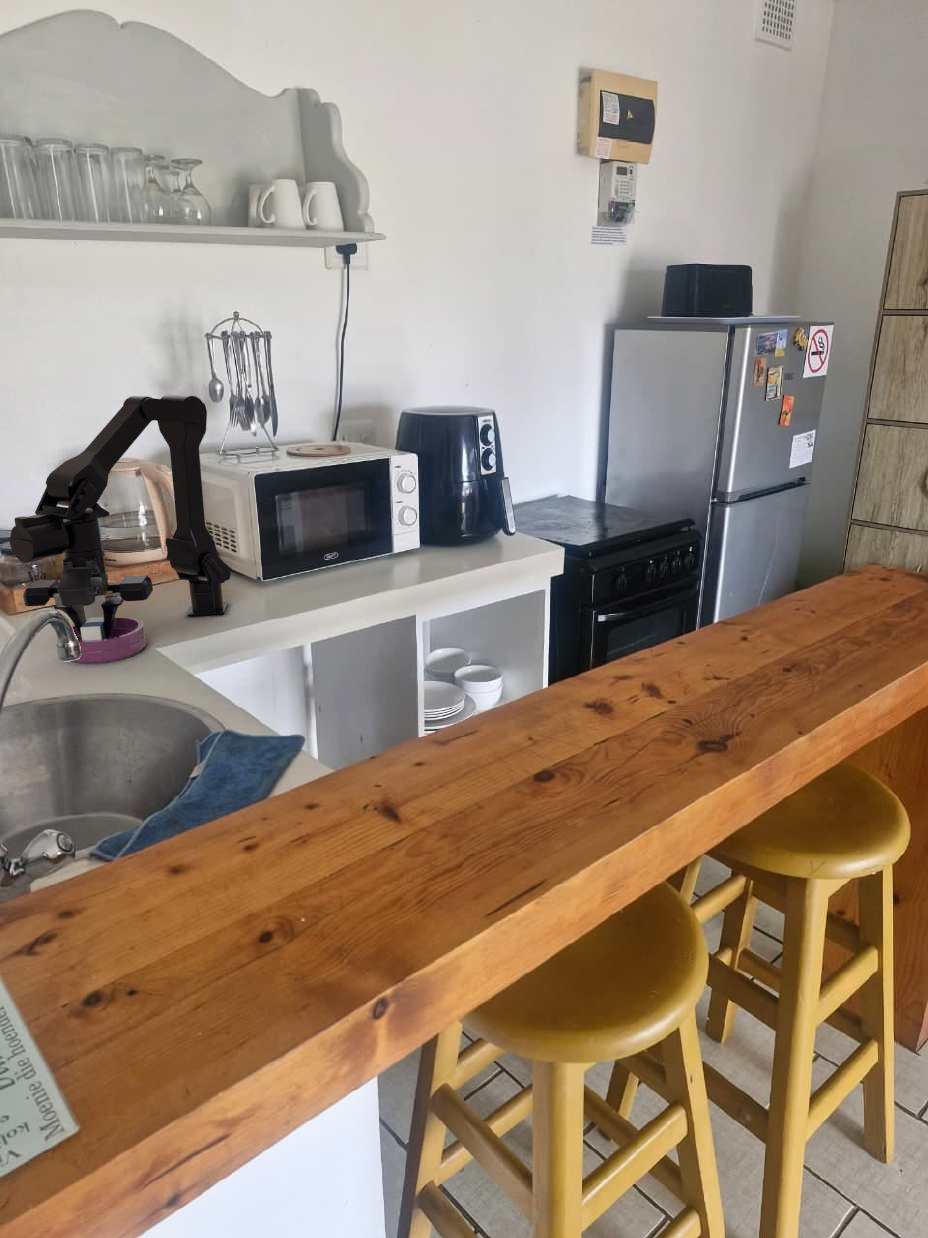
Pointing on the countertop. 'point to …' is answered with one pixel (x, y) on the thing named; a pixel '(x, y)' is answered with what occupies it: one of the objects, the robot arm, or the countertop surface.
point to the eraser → (93, 629)
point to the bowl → (114, 642)
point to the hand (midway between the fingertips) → (97, 640)
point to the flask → (95, 608)
